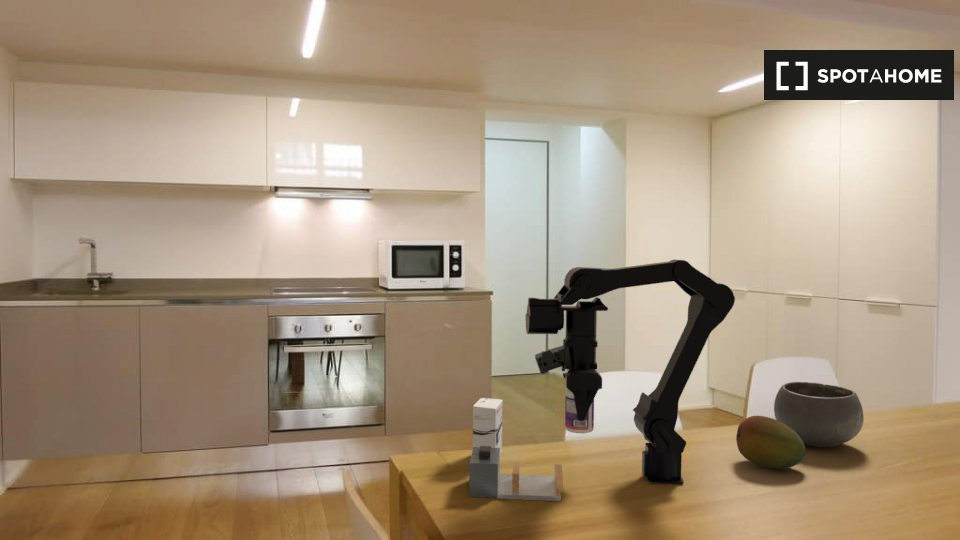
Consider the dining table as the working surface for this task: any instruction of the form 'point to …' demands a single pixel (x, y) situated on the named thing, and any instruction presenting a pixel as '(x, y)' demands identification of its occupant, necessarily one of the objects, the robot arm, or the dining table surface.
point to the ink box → (487, 423)
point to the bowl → (819, 412)
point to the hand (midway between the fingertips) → (579, 416)
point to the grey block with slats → (509, 479)
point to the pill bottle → (571, 416)
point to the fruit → (769, 443)
